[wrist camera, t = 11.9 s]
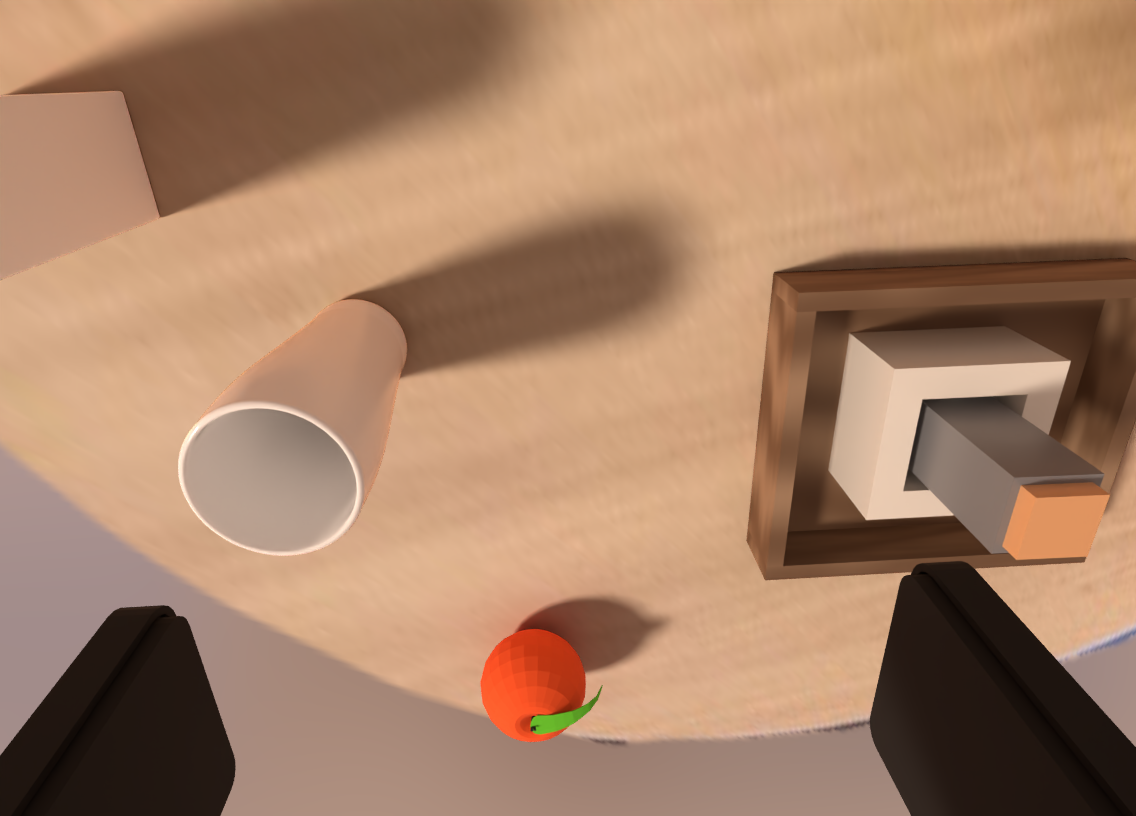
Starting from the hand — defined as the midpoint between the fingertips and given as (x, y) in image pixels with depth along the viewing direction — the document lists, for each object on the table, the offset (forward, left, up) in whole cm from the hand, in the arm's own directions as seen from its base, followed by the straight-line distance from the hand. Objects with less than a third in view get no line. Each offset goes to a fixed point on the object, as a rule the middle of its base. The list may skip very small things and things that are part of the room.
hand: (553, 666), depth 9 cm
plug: (+11, +22, -28) cm, 37 cm away
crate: (+12, +23, -30) cm, 40 cm away
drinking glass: (+6, -10, -31) cm, 33 cm away
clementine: (+29, -1, -31) cm, 42 cm away
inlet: (+11, +22, -30) cm, 39 cm away
